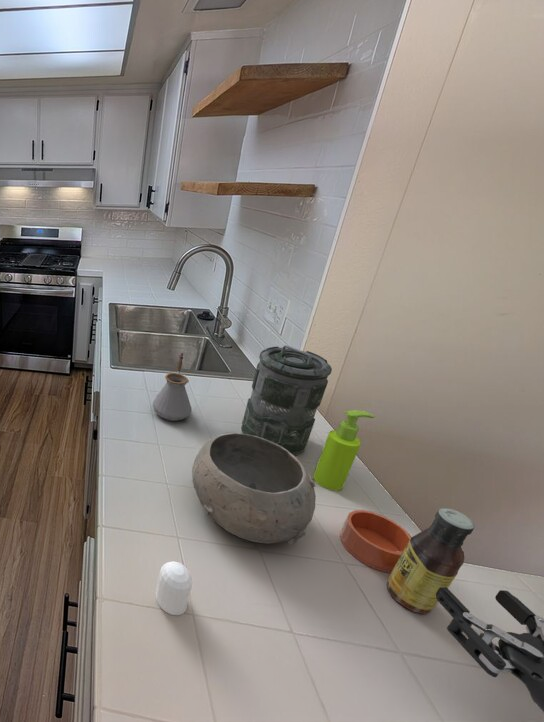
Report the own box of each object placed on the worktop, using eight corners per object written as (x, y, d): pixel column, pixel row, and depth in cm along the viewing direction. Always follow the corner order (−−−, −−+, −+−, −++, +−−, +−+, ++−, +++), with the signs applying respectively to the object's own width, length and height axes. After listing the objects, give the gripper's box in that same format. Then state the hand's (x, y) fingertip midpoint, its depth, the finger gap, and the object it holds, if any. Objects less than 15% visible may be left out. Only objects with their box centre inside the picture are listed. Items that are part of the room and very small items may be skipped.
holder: (400, 542, 78) (409, 524, 76) (411, 583, 70) (422, 564, 68) (338, 519, 83) (345, 502, 81) (341, 555, 75) (350, 537, 73)
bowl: (169, 477, 95) (178, 427, 89) (257, 471, 97) (271, 422, 91) (220, 564, 74) (236, 506, 68) (330, 554, 75) (355, 497, 70)
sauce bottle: (386, 574, 72) (429, 493, 64) (432, 598, 68) (484, 515, 60) (382, 599, 68) (427, 515, 60) (431, 626, 63) (486, 540, 56)
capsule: (151, 585, 70) (156, 555, 67) (179, 583, 70) (186, 553, 67) (162, 616, 65) (168, 585, 62) (192, 614, 65) (200, 582, 62)
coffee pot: (188, 428, 113) (196, 384, 107) (148, 419, 118) (154, 376, 112) (193, 394, 131) (201, 354, 125) (159, 387, 135) (164, 348, 130)
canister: (317, 447, 105) (350, 355, 94) (281, 465, 99) (311, 368, 88) (263, 417, 118) (286, 333, 107) (228, 431, 112) (249, 343, 101)
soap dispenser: (353, 490, 91) (383, 420, 83) (323, 490, 91) (351, 420, 83) (335, 473, 96) (362, 405, 88) (307, 472, 96) (332, 405, 88)
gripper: (705, 723, 41) (532, 577, 56) (564, 714, 42) (430, 572, 57) (661, 757, 44) (507, 610, 59) (529, 749, 45) (410, 605, 60)
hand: (469, 592), depth 58 cm, fingers open, 8 cm apart
